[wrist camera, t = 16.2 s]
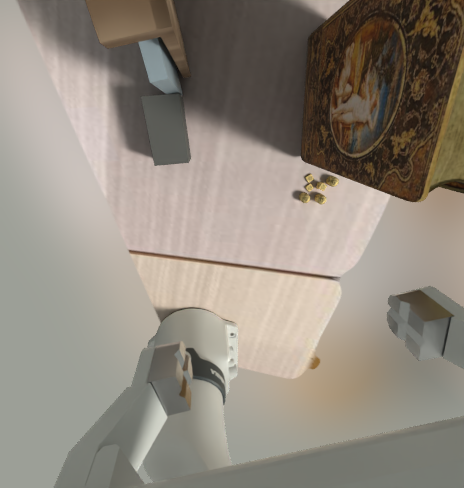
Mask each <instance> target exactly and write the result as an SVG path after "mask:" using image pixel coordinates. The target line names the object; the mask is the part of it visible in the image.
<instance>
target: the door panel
mask: <svg viewBox="0 0 464 488" xmlns="http://www.w3.org/2000/svg"><path fill="white" fill-rule="evenodd" d="M138 43H139V46H140V50H141V53H142V57H143V60H144V64H145V67H146V71H147V74H148V78H149V81H150V83H151V84H153V85H154V86H156V87H157V88H158V89H160V90H161V91H163V92H164V93H166V94H176V93H179V94H180V95H183V93H182V89H181V85H180V81H179V77H178V72H177V68H176V64H175V61H174V60H173V58H172V56H171V54H170V52H169V51H168V49H167V47H166V45H165V43H164V42H163V40H162V38H161V37H158V38H154V39H149V40H145V41H141V42H138Z"/></svg>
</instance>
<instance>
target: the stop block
mask: <svg viewBox="0 0 464 488" xmlns="http://www.w3.org/2000/svg"><path fill="white" fill-rule="evenodd" d="M141 100H142V105H143V110H144V115H145V120H146V125H147V130H148V135H149V140H150V145H151V150H152V155H153V160H154V165H155V166H157V165H168V164H179V163H189V161H190V159H191V155H190V148H189V141H188V133H187V126H186V119H185V112H184V105H183V98H182V96H181V95H180V94H179V93H176V94H164V95H151V96H141Z"/></svg>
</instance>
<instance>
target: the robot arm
mask: <svg viewBox="0 0 464 488" xmlns="http://www.w3.org/2000/svg"><path fill="white" fill-rule="evenodd" d="M388 304H389V305H390V306H391V309H390V310H389V311H388V312H387V321H388V324H389V327H390V329H391V330H392V332H393V333H394V334H395V335H396V336H397V337H398V338H400V339H403V340H405V346H406V348H407V349H408V350H409V351H410V352H411V353H412V354H413V355H414V356H415V357H416V359H417V360H418V361H421V360H426V359H431V358H437V357H443V358H444V359H446V360H448V361H450V362H452V363H454V364H455V365H457V366H459V367H461V368H463V369H464V308H463V307H461V306H460V305H459V304H457V303H456V302H454V301H453V300H451V299H450V298H449V297H447V296H446V295H444V294H443V293H441V292H440V291H439V290H437V289H436V288H434V287H431V286H428V287H424V288H419V289H416V290H411V291H407V292H403V293H398V294H394V295H390V297H389V298H388ZM237 369H238V326H237V324H235V323H233V322H229V321H225V320H223V319H221V318H220V317H219V316H217V315H216V314H214V313H212V312H209V311H207V310H203V309H184V310H180V311H177V312H175V313H173V314H171V315H169V316H168V317H166V318H165V319H164V320H163V321H162V323H161V324H160V326H159V329H158V331H157V333H156V335H155V336H154V337H153V338H152V339H151V340H150V341H149V342H148V348H144V349H143V351H142V352H141V355H140V359H139V362H138V365H137V368H136V372H135V375H134V378H133V382H132V385H131V387H128V388H126V390H124V392H123V393H122V394H121V395H120V396H119V397H118V398H117V399H116V400H115V402H114V403H113V404H112V405H111V406H110V407H109V408H108V409H107V410H106V412H105V413H104V414H103V415H102V416H101V417H100V418H99V420H98V421H97V422H96V423H95V424H94V425H93V426H92V427H91V428H90V430H89V431H88V432H87V433H86V434H85V435H84V436H83V437H82V438H81V439H80V441H79V442H78V443H77V444H76V445H75V446H74V447H73V448H72V449H71V451H70V452H69V453H68V456H67V458H66V460H65V462H64V465H63V467H62V470H61V472H60V474H59V476H58V479H57V481H56V484H55V486H54V488H464V416H461V417H456V418H452V419H447V420H442V421H438V422H433V423H428V424H424V425H419V426H414V427H409V428H405V429H400V430H395V431H391V432H386V433H381V434H376V435H372V436H367V437H362V438H358V439H353V440H348V441H344V442H339V443H334V444H329V445H325V446H320V447H315V448H311V449H306V450H301V451H297V452H292V453H287V454H283V455H278V456H273V457H269V458H264V459H259V460H255V461H250V462H245V463H240V464H236V465H232V462H231V459H230V455H229V451H228V446H227V439H226V431H225V422H224V409H223V405H224V403H225V398H226V394H227V393H228V392H229V381H230V380H232V379H233V378H235V377H236V376H237V375H238V374H237ZM142 462H143V465H144V468H145V470H146V472H147V474H148V476H149V477H150V479H151V480H152V481H153V482H152V483H147V484H144V482H143V481H142V479H141V478H140V476H139V475H138V474H137V470H138V469H139V467H140V465H141V463H142Z"/></svg>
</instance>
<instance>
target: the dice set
mask: <svg viewBox="0 0 464 488" xmlns="http://www.w3.org/2000/svg"><path fill="white" fill-rule="evenodd" d="M305 178H306V180H307V182H308V183H309V182H310V181H312V180H313V177H312V175H311V174H309V175H308V176H306V177H305ZM338 181H339V180H338V179H337V178H336V177H334V176H329V177H328V178H327V180H326V183H327V184H328V185H330V186H332V187H334V186H336V185H337V184H338ZM326 187H327V185H325V184H324V183H323V182H317V187H316V188H317V189H320V190H322V191H324V190H325V188H326ZM305 188H306V189H307V190H308V191H309V192H310V191H311V190H312V189H313V188H314V187H313V186H312V185H311V184H310V183H309V184H308V185H307V186H306V187H305ZM299 199H300V200H301V201H302V202H303V203H307V202H309V201H310V196H309V195H308V194H307V193H301V194H300V195H299ZM315 201H317V202H318V203H319V204H324V203H325V202H326V197H325V196H324V195H322V194H317V195H316V196H315Z"/></svg>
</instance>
